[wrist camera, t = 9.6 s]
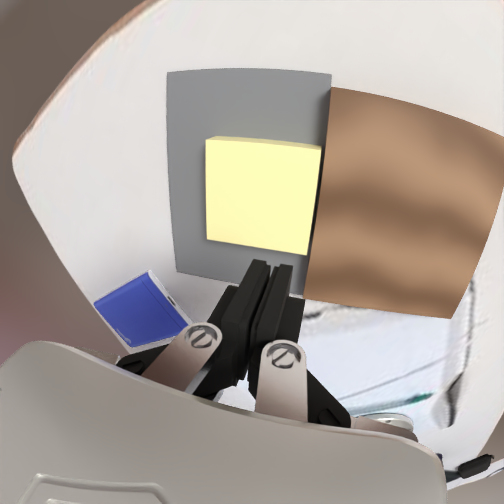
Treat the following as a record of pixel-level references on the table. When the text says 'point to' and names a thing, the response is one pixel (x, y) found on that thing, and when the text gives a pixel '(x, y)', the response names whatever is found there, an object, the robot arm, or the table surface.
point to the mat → (235, 125)
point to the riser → (401, 206)
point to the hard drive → (142, 311)
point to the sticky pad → (261, 192)
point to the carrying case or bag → (475, 466)
